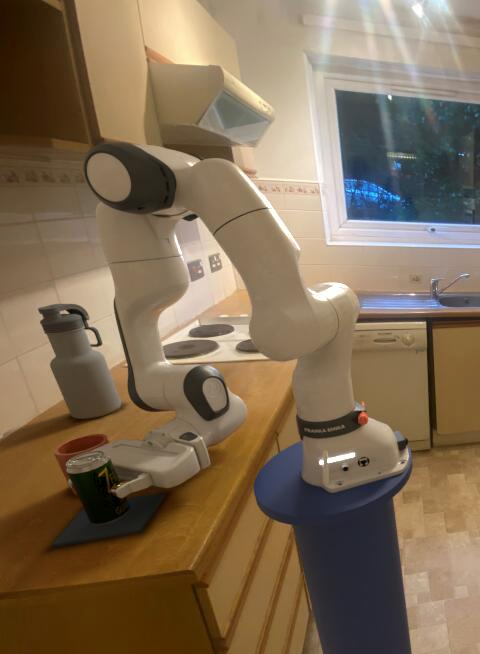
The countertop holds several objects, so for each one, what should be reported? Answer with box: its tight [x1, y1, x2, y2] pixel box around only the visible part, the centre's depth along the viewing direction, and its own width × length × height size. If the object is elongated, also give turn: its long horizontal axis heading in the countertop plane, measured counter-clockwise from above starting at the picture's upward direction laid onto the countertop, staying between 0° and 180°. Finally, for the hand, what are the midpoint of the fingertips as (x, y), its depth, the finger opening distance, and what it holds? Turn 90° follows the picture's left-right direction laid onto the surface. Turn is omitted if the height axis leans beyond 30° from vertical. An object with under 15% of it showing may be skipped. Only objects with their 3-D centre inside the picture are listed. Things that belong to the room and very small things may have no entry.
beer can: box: [66, 450, 130, 526], centre depth 73 cm, size 5×5×12 cm
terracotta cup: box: [53, 433, 121, 496], centre depth 83 cm, size 7×7×9 cm
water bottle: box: [37, 303, 122, 420], centre depth 107 cm, size 10×10×28 cm
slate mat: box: [51, 492, 166, 549], centre depth 76 cm, size 12×10×1 cm
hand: (93, 489), depth 72 cm, fingers open, 8 cm apart
